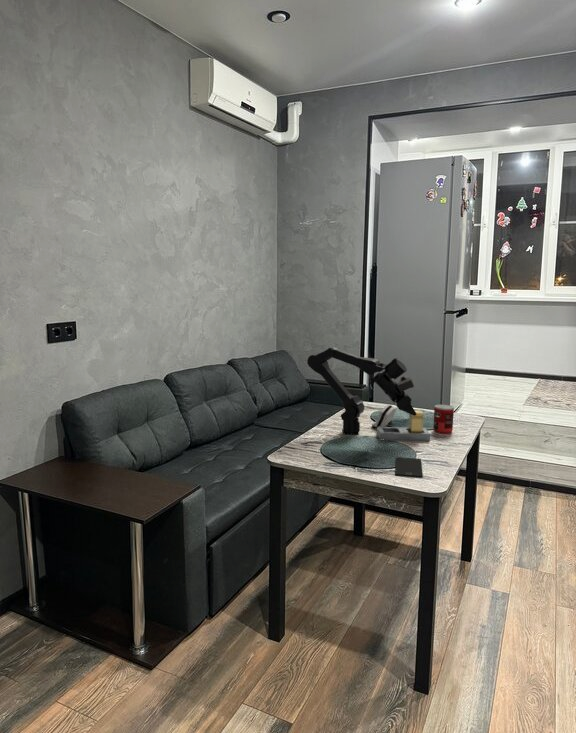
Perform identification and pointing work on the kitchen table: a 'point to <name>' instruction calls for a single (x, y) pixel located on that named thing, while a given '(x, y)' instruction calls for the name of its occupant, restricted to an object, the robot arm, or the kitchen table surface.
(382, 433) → the grey cinder block
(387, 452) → the kitchen table surface
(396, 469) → the cell phone
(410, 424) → the tan tall block
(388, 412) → the game console
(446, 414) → the canned food
